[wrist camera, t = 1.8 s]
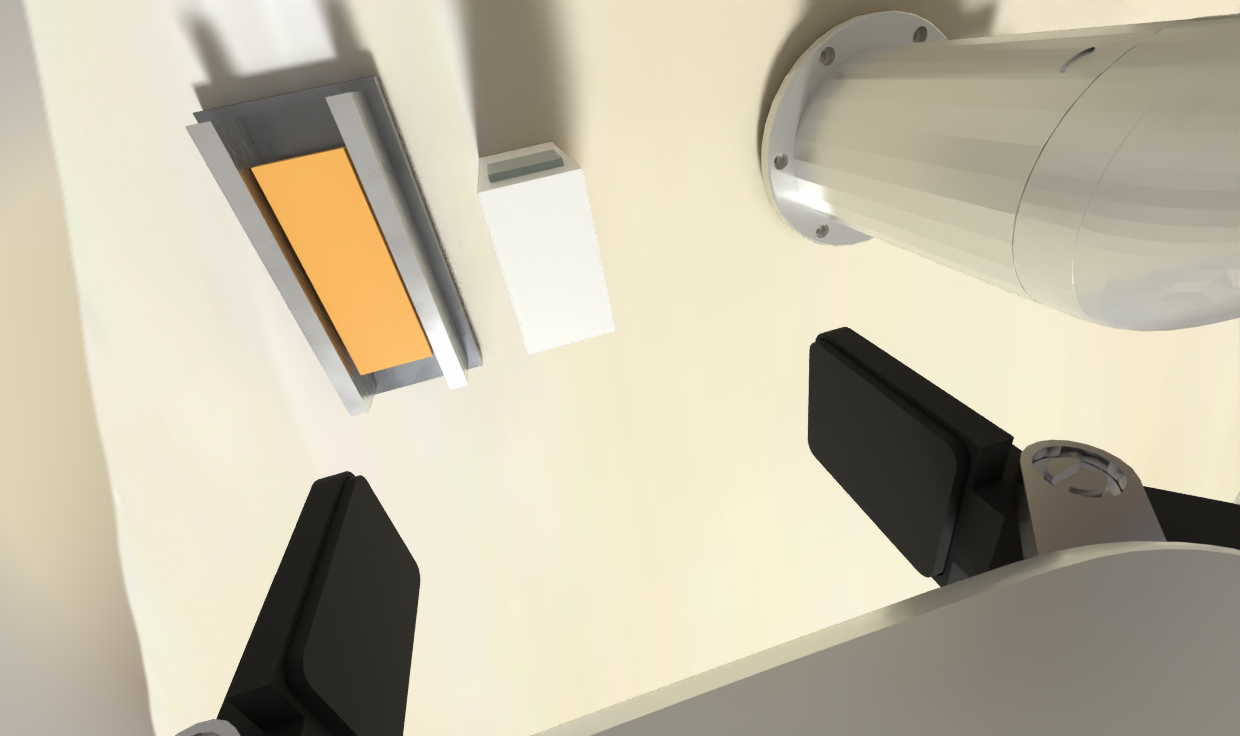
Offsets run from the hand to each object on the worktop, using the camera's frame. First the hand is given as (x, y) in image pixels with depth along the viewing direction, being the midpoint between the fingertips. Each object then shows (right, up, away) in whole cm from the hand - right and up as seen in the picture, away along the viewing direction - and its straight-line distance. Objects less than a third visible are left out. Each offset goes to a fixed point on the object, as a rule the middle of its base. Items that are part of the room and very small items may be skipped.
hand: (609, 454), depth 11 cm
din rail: (-14, +8, +18) cm, 24 cm away
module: (-5, +11, +19) cm, 22 cm away
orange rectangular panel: (-13, +7, +16) cm, 22 cm away
